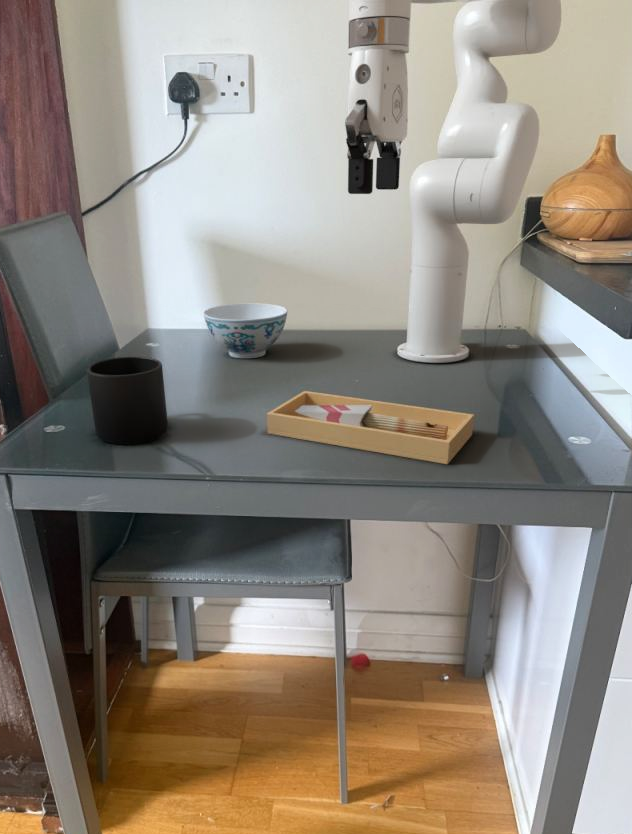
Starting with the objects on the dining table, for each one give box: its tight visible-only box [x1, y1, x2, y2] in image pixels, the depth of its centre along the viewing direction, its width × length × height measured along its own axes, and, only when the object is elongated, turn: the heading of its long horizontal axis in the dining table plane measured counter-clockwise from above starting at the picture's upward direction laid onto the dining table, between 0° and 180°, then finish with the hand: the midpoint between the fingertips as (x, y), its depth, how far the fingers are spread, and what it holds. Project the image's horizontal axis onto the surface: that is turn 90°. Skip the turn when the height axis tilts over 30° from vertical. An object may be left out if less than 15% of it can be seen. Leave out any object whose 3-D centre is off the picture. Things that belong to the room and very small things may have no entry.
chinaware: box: [203, 302, 288, 359], centre depth 129 cm, size 15×15×8 cm
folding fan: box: [295, 405, 448, 440], centre depth 92 cm, size 4×3×20 cm
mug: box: [86, 356, 169, 445], centre depth 94 cm, size 9×12×9 cm
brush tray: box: [266, 390, 475, 465], centre depth 92 cm, size 11×24×3 cm, turn 62°
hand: (374, 191), depth 96 cm, fingers open, 9 cm apart
